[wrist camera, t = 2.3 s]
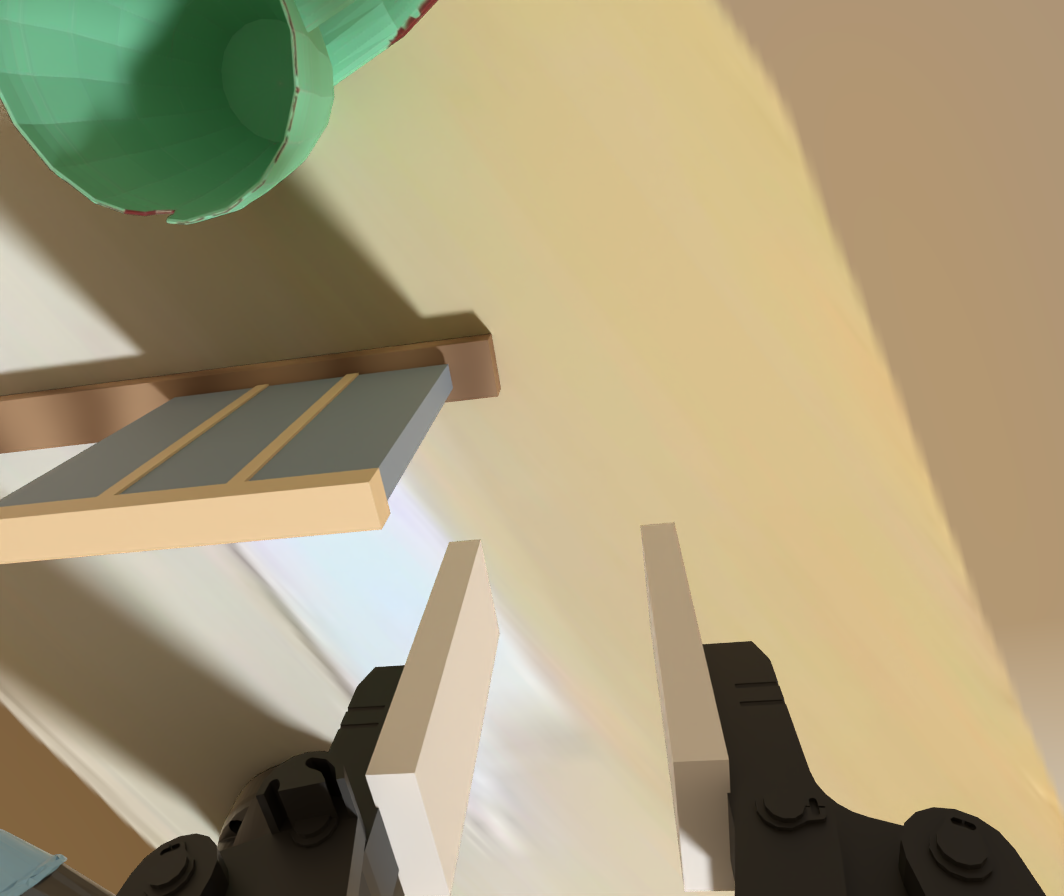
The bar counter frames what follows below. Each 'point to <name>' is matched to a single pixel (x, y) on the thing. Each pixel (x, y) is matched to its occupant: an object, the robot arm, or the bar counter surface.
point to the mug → (183, 91)
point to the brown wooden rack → (225, 389)
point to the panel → (232, 469)
